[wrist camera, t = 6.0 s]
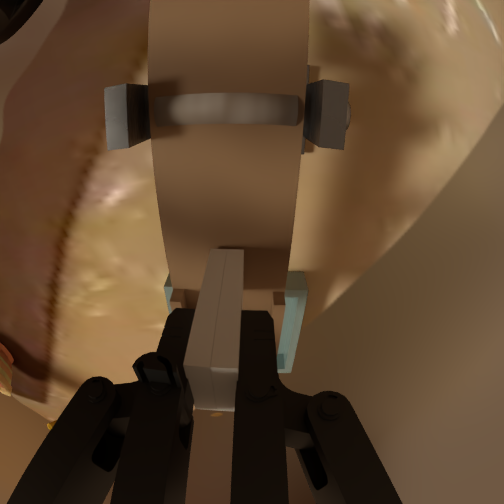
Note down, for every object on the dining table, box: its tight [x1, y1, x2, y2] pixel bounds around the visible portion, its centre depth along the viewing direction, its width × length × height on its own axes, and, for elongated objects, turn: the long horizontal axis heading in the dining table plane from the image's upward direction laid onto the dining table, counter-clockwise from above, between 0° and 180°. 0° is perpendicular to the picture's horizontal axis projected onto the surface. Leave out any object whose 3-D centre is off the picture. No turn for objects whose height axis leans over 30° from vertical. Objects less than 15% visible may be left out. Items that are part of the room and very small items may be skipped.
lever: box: [148, 0, 309, 355], centre depth 13 cm, size 24×6×5 cm, turn 178°
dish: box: [164, 272, 308, 373], centre depth 28 cm, size 13×13×3 cm
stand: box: [104, 65, 351, 154], centre depth 13 cm, size 7×10×12 cm
